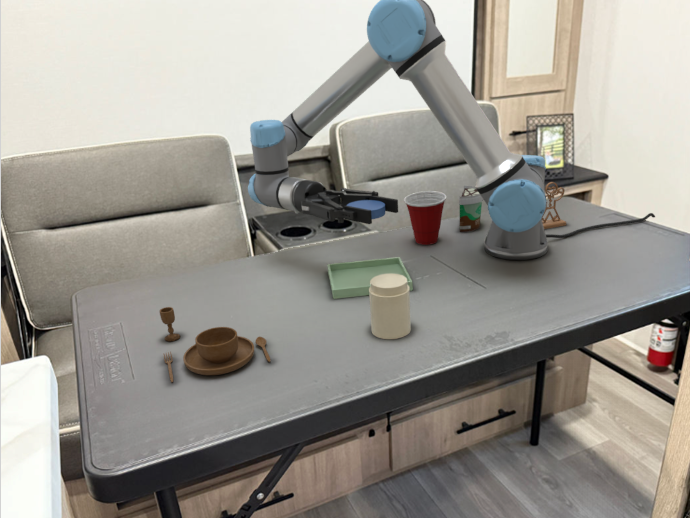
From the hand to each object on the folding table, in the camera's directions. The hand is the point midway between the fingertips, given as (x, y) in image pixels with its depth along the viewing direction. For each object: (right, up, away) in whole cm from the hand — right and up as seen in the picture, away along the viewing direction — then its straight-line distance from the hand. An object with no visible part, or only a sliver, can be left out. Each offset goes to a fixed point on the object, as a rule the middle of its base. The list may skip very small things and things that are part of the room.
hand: (383, 211), depth 123 cm
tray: (-4, -14, +12) cm, 19 cm away
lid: (-4, +1, +3) cm, 5 cm away
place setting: (-30, -27, -14) cm, 43 cm away
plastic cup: (+10, -3, +34) cm, 36 cm away
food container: (+23, +2, +44) cm, 49 cm away
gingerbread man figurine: (+44, +2, +42) cm, 61 cm away
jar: (+2, -24, -9) cm, 25 cm away
